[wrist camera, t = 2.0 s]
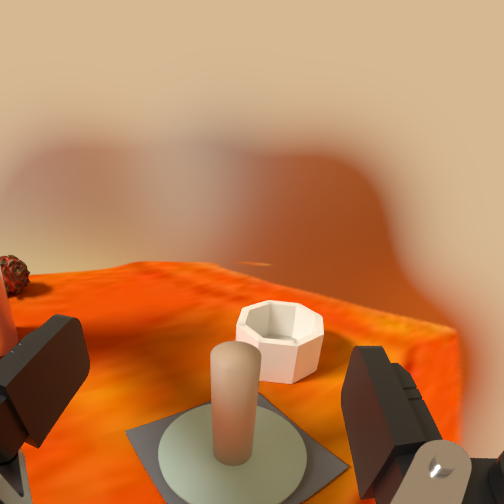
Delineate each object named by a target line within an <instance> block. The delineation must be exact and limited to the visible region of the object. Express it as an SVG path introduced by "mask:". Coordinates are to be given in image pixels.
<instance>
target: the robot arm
mask: <svg viewBox="0 0 504 504" xmlns="http://www.w3.org/2000/svg"><path fill="white" fill-rule="evenodd" d="M18 340H19V339H18V333H17V330H16V327H15V323H14V320H13V317H12V313H11V309H10V305H9V301H8V297H7V293H6V289H5V285H4V280H3V276H2V271H1V266H0V357H1V356H4V355H5V354H6V355H5V356H4V357H3V358H2V359H1V360H0V504H33V502H32V498H31V493H30V488H29V483H28V477H27V470H26V464H25V456H24V452H23V450H22V448H21V446H22V445H23V443H24V442H26V443H28V444H30V445H32V446H34V447H36V448H38V449H39V447H40V446H41V444H42V443H43V441H44V440H45V438H46V436H47V435H48V433H49V432H50V430H51V429H52V427H53V426H54V424H55V423H56V421H57V420H58V418H59V417H60V415H61V414H62V412H63V411H64V410H65V408H66V407H67V405H68V404H69V402H70V401H71V399H72V398H73V396H74V395H75V394H76V392H77V391H78V389H79V388H80V386H81V385H82V384H83V382H84V381H85V379H86V378H87V376H88V373H89V369H90V360H89V355H88V352H87V347H86V343H85V339H84V335H83V330H82V326H81V323H80V321H79V320H78V319H77V318H74V317H69V316H64V315H59V314H55V315H53V316H52V317H51V318H50V319H49V320H48V321H47V322H45V323H44V324H43V325H42V326H41V327H40V328H38V329H36V330H34V331H32V332H30V333H28V334H27V335H26V336H25V337H24V338H23V339H22V340H21V341H20V342H19V344H17V343H18ZM10 351H11V352H10ZM416 388H417V386H416V384H415V382H414V380H413V379H412V377H411V375H410V373H409V372H407V371H406V370H405V369H404V368H403V367H402V366H401V365H399V364H398V363H390V361H389V359H388V357H387V355H386V353H385V351H384V349H383V347H382V346H355V347H354V349H353V351H352V354H351V358H350V362H349V365H348V369H347V373H346V376H345V380H344V383H343V387H342V392H341V408H342V412H343V417H344V421H345V426H346V430H347V435H348V440H349V445H350V449H351V454H352V459H353V464H354V469H355V474H356V479H357V484H358V490H359V495H360V500H362V499H370V498H375V501H376V504H504V451H503V452H502V453H501V455H500V456H499V457H498V459H488V458H484V459H483V458H470V457H469V455H468V454H467V452H466V451H465V450H464V449H463V448H462V447H461V446H459V445H457V444H456V443H453V442H451V441H447V440H443V439H442V437H441V435H440V433H439V431H438V428H437V426H436V424H435V422H434V420H433V418H432V416H431V414H430V412H429V410H428V408H427V406H426V404H425V402H424V400H422V396H421V394H420V392H419V390H418V389H416Z"/></svg>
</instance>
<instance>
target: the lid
mask: <svg viewBox="0 0 504 504" xmlns="http://www.w3.org/2000/svg"><path fill="white" fill-rule="evenodd" d="M261 358H262V356H261V352H260V351H259V350H258V349H257V348H256V347H255V346H253V345H251V344H249V343H246V342H241V341H228V342H224V343H221V344H219V345H217V346H215V347H214V348H213V349H212V351H211V355H210V360H211V404H208V405H203V406H200V407H197V408H194V409H192V410H190V411H188V412H186V413H184V414H182V415H181V416H180V417H178V418H177V419H175V420H174V421H173V422H172V423H171V424H170V425H169V427H168V428H167V429H166V430H165V432H164V434H163V436H162V438H161V441H160V443H159V449H158V459H159V465H160V469H161V472H162V474H163V477H164V479H165V481H166V483H167V485H168V486H169V487H170V488H171V490H172V491H173V492H174V493H175V494H176V495H177V496H178V497H179V498H180V499H182V500H183V501H184V502H186V503H187V504H281V503H282V502H284V501H285V500H286V499H288V498H289V497H290V496H291V495H292V494H293V493H294V491H295V490H296V489H297V487H298V486H299V484H300V482H301V480H302V477H303V475H304V472H305V469H306V463H307V452H306V448H305V444H304V442H303V439H302V438H301V436H300V434H299V433H298V431H297V430H296V429H295V428H294V427H293V426H292V425H291V424H290V423H289V422H288V421H287V420H286V419H284V418H283V417H281V416H280V415H278V414H276V413H274V412H272V411H270V410H268V409H265V408H263V407H260V406H257V399H258V389H259V379H260V369H261Z"/></svg>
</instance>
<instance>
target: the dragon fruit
mask: <svg viewBox="0 0 504 504" xmlns="http://www.w3.org/2000/svg"><path fill="white" fill-rule="evenodd" d="M8 256H9V257H8ZM8 256H1V257H0V266H1V271H2V276H3V280H4V285H5V289H6V293H7V295H8V294H9V292H10V291H12V293H18V292H20V290H21V287H25V286H27V285H28V284H29V282H30V281H29V279H28V275H29V274H30V272H29V271H28V270H27V266H26V264H25V263H24V262H22V261H21V260H19V259H18V258H17V257H15V256H13V255H8Z"/></svg>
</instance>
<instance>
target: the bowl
mask: <svg viewBox="0 0 504 504" xmlns="http://www.w3.org/2000/svg"><path fill="white" fill-rule="evenodd" d="M323 337H324V329H323V319H322V316H321V315H319V314H317V313H315V312H314V311H312V310H310V309H308V308H307V307H305V306H303V305H301V304H299V303H291V302H281V301H272V300H267V301H264V302H260V303H257V304H254V305H250V306H247V307H244V308H242V311H241V314H240V316H239V319H238V322H237V325H236V341H241V342H246V343H249V344H251V345H253V346H255V347H256V348H257V349H258V350H259V351H260V352H261V356H262V358H261V369H260V379H259V381H267V382H276V383H286V384H293V383H295V382H296V381H298V380H300V379H302V378H304V377H306V376H308V375H309V374H311V373H313V372H315V371H316V370H317V366H318V361H319V357H320V352H321V347H322V342H323Z"/></svg>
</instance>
